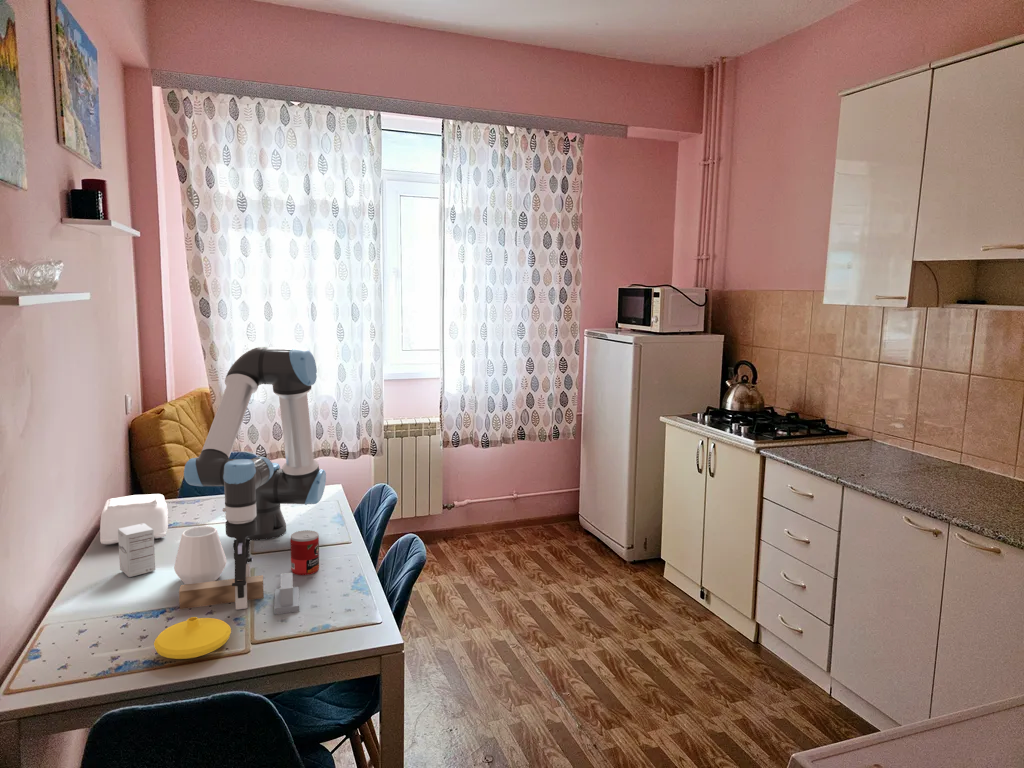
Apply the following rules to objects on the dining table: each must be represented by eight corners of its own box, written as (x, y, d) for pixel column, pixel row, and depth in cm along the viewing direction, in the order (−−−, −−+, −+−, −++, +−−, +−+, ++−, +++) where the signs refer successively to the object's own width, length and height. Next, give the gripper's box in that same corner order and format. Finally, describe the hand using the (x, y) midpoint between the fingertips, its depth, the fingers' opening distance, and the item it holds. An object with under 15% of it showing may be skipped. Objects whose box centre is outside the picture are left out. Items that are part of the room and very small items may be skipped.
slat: (179, 610, 168) (179, 591, 168) (181, 603, 172) (180, 585, 171) (263, 599, 175) (263, 581, 175) (263, 592, 179) (262, 575, 179)
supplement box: (119, 570, 191) (116, 528, 189) (147, 563, 196) (145, 522, 195) (128, 578, 186) (125, 534, 184) (156, 570, 191) (154, 528, 190)
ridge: (275, 594, 178) (274, 572, 177) (298, 591, 180) (298, 570, 179) (274, 614, 167) (273, 591, 166) (299, 611, 168) (299, 588, 168)
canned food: (311, 577, 189) (310, 540, 188) (285, 574, 190) (285, 538, 189) (324, 567, 196) (323, 531, 195) (299, 564, 198) (298, 529, 197)
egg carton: (98, 549, 207) (96, 508, 205) (107, 520, 233) (105, 483, 232) (167, 541, 215) (165, 501, 213) (168, 514, 242) (167, 478, 240)
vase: (178, 630, 158) (177, 602, 157) (243, 632, 157) (242, 604, 157) (139, 666, 142) (137, 635, 141) (211, 669, 142) (209, 638, 141)
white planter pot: (163, 584, 183) (161, 535, 181) (201, 566, 195) (199, 520, 193) (201, 592, 178) (199, 542, 176) (237, 573, 190) (236, 527, 189)
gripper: (229, 506, 183) (231, 580, 186) (220, 536, 160) (223, 620, 162) (258, 504, 185) (260, 577, 188) (254, 533, 162) (256, 616, 165)
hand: (243, 597), depth 175 cm, fingers open, 13 cm apart
